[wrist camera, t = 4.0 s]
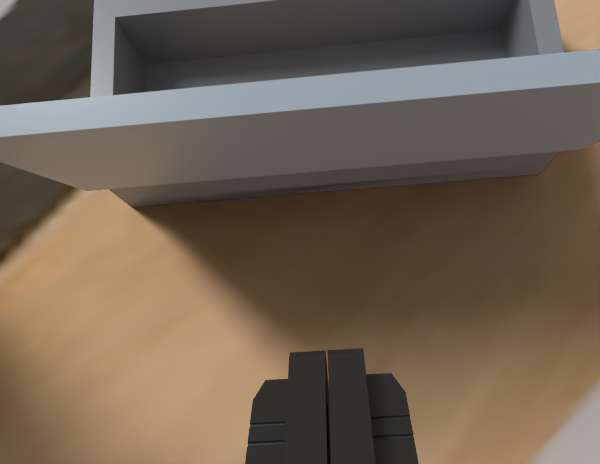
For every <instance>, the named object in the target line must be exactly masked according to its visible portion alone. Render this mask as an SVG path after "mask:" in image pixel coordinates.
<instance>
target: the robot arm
mask: <svg viewBox="0 0 600 464" xmlns="http://www.w3.org/2000/svg"><path fill="white" fill-rule="evenodd" d="M328 371H329V384H328V373H327V363H326V353H325V351H312V352H294V353H290V356H289V373H288V379H278V380H265V382H264V383H263V385H262V387H261V388H260V390H259V391H258V393H257V395H256V396H255V398H254V399H253V404H252V412H251V420H250V429H249V437H248V447H247V454H246V462H245V464H418V458H417V453H416V447H415V442H414V438H413V431H412V425H411V420H410V414H409V409H408V403H407V398H406V392H405V391H404V390H403V388H402V387H401V386H400V384H399V383H398V382H397V380H396V379H395V377H394V376H393V375H392V373H387V374H368V375H366V370H365V361H364V352H363V348H362V349H344V350H328Z"/></svg>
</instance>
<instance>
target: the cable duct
mask: <svg viewBox="0 0 600 464" xmlns="http://www.w3.org/2000/svg"><path fill="white" fill-rule="evenodd" d="M554 53H564V49H563V44H562V39H561V34H560V28H559V23H558V18H557V13H556V8H555V3H554V0H94V18H93V44H92V70H91V95H90V97H99V96H110V95H121V94H131V93H142V92H152V91H163V90H173V89H184V88H194V87H205V86H216V85H226V84H237V83H247V82H258V81H268V80H279V79H290V78H300V77H311V76H321V75H332V74H342V73H353V72H363V71H374V70H385V69H395V68H406V67H416V66H427V65H437V64H448V63H459V62H469V61H480V60H490V59H501V58H511V57H522V56H532V55H543V54H554ZM559 152H560V151H558V152H546V153H534V154H522V155H510V156H498V157H486V158H474V159H462V160H450V161H438V162H426V163H414V164H402V165H390V166H378V167H366V168H354V169H342V170H330V171H318V172H306V173H294V174H282V175H270V176H258V177H246V178H234V179H222V180H210V181H198V182H187V183H175V184H163V185H151V186H139V187H127V188H115V189H109V190H110V191H112V192H113V193H114V194H115V195H117V196H118V197H119V198H120V199H122V200H123V201H124V202H126V203H127V204H128V205H129V206H131V207H139V206H152V205H164V204H176V203H189V202H201V201H213V200H226V199H238V198H250V197H263V196H275V195H287V194H300V193H312V192H324V191H337V190H349V189H361V188H374V187H386V186H398V185H410V184H423V183H435V182H447V181H460V180H472V179H484V178H497V177H509V176H521V175H534V174H540V173H541V172H542V170H543V169H544V168H545V167H546V166H547V165H548V164H549V163H550V162H551V161H552V160H553V158H554V157H555V156H556V155H557V154H558V153H559Z"/></svg>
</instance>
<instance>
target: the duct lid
mask: <svg viewBox="0 0 600 464" xmlns="http://www.w3.org/2000/svg"><path fill="white" fill-rule="evenodd" d="M598 141H600V49H596V50H585V51H575V52H564V53H554V54H543V55H532V56H522V57H511V58H501V59H490V60H480V61H469V62H459V63H448V64H437V65H427V66H416V67H406V68H395V69H385V70H374V71H363V72H353V73H342V74H332V75H321V76H311V77H300V78H290V79H279V80H268V81H258V82H247V83H237V84H226V85H216V86H205V87H194V88H184V89H173V90H163V91H152V92H142V93H131V94H121V95H110V96H99V97H89V98H78V99H68V100H57V101H47V102H36V103H25V104H15V105H4V106H0V162H2V163H5V164H8V165H11V166H14V167H17V168H20V169H23V170H26V171H29V172H32V173H35V174H38V175H41V176H44V177H47V178H50V179H53V180H56V181H59V182H62V183H65V184H68V185H71V186H73V187H76V188H79V189H82V190H85V191H91V190H103V189H115V188H127V187H139V186H151V185H163V184H175V183H187V182H198V181H210V180H222V179H234V178H246V177H258V176H270V175H282V174H294V173H306V172H318V171H330V170H342V169H354V168H366V167H378V166H390V165H402V164H414V163H426V162H438V161H450V160H462V159H474V158H486V157H498V156H510V155H522V154H534V153H546V152H558V151H570V150H582V149H585V148H587V147H589V146H591V145H593V144H594V143H596V142H598Z"/></svg>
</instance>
